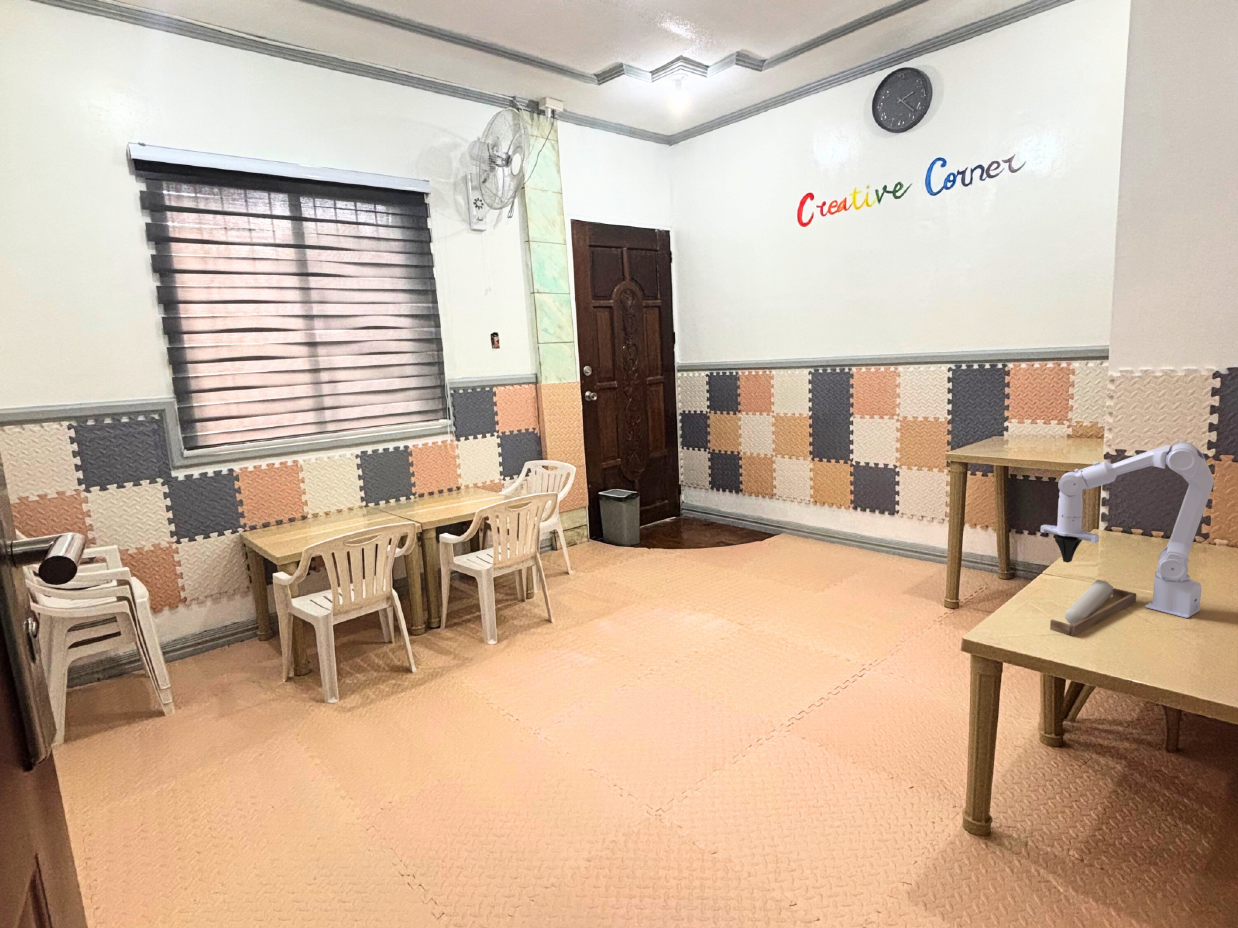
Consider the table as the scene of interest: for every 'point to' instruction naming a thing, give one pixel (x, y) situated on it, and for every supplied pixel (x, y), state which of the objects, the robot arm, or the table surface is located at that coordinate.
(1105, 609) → the bay
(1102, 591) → the tube
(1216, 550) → the table surface
